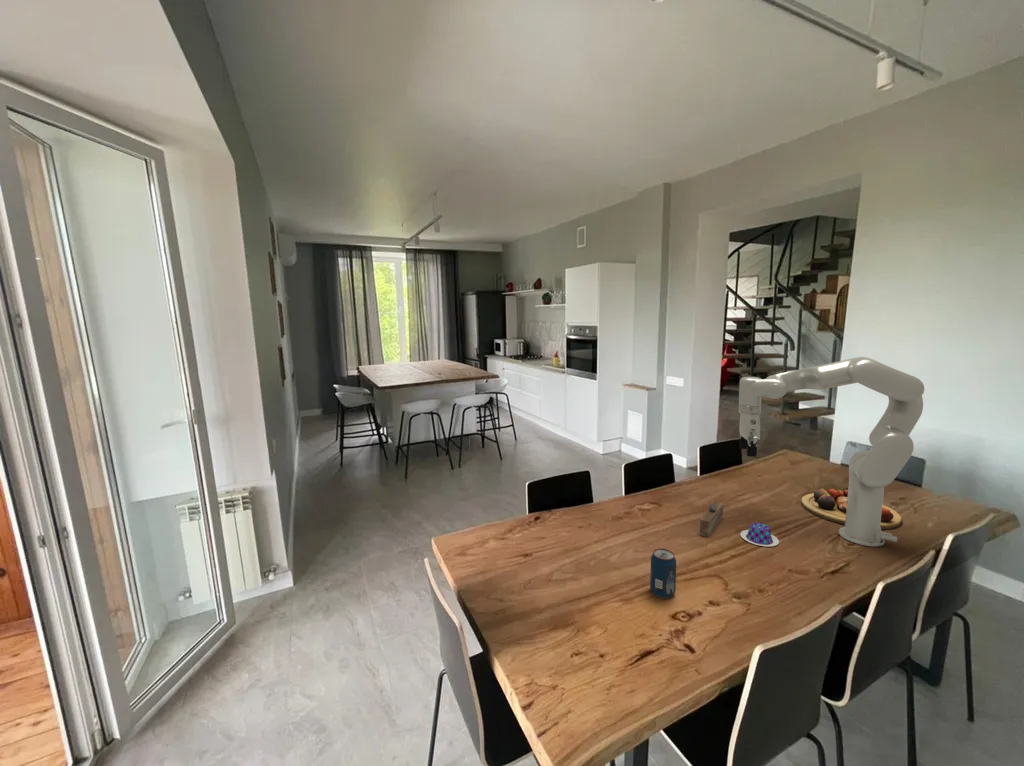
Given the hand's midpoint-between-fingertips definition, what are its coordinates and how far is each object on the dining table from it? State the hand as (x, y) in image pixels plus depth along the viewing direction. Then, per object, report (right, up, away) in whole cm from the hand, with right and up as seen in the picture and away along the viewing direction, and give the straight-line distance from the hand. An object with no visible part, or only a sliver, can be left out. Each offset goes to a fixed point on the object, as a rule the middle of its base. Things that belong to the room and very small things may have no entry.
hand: (747, 452), depth 165 cm
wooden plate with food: (+45, -26, +7) cm, 52 cm away
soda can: (-48, -34, -41) cm, 72 cm away
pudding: (-3, -29, -13) cm, 32 cm away
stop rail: (-15, -28, -3) cm, 32 cm away
